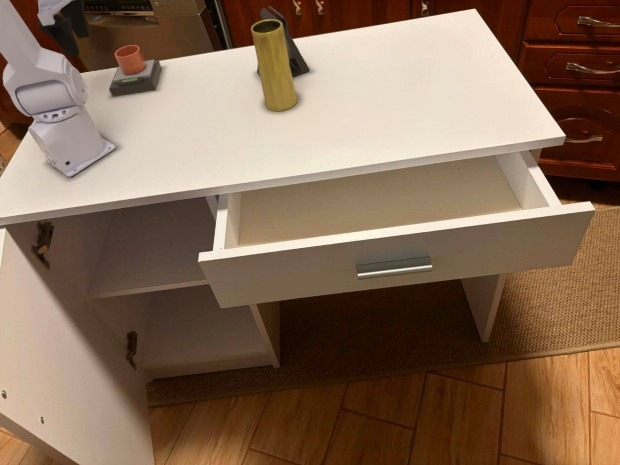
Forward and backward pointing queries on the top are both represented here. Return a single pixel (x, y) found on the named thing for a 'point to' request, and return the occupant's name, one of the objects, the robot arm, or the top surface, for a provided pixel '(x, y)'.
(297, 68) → the phone stand
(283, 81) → the vase
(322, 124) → the top surface
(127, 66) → the cup
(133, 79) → the scale
